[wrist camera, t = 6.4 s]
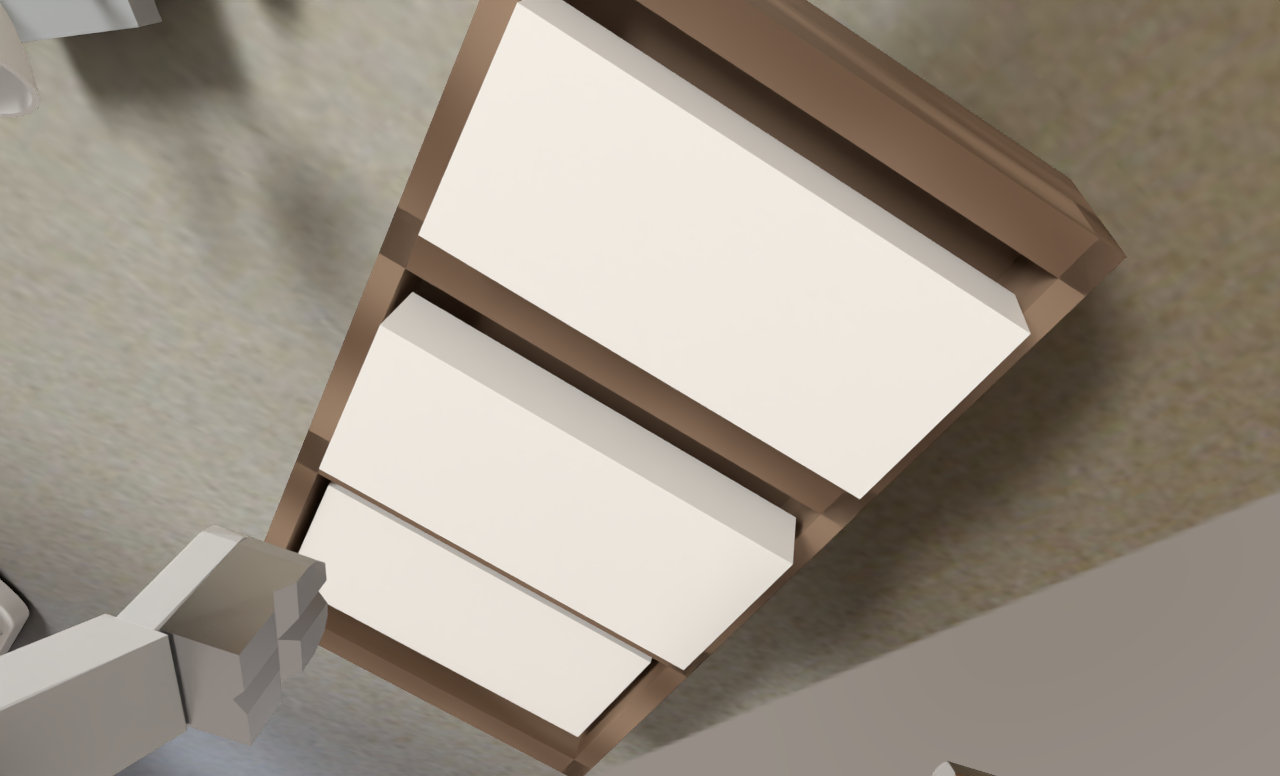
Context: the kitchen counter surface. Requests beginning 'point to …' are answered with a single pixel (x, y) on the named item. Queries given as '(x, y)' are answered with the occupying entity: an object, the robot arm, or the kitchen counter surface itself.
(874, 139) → the brown boxy piece
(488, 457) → the switch
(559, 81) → the switch
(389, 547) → the switch
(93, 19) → the toy car
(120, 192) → the kitchen counter surface
